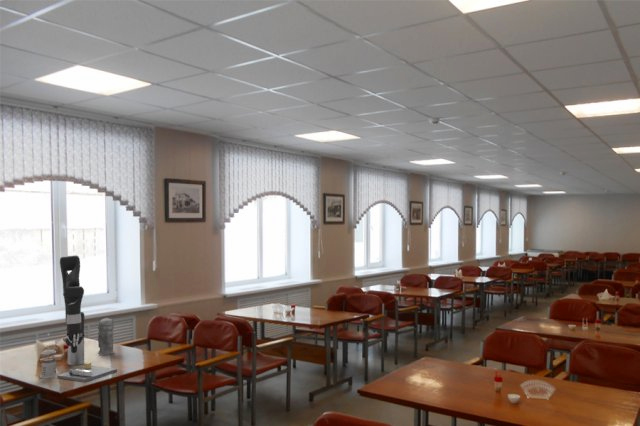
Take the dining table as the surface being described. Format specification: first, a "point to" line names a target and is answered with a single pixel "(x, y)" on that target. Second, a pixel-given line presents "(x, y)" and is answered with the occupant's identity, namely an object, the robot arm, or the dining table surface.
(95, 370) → the jamb plate
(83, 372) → the bar
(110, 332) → the figurine
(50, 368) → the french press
